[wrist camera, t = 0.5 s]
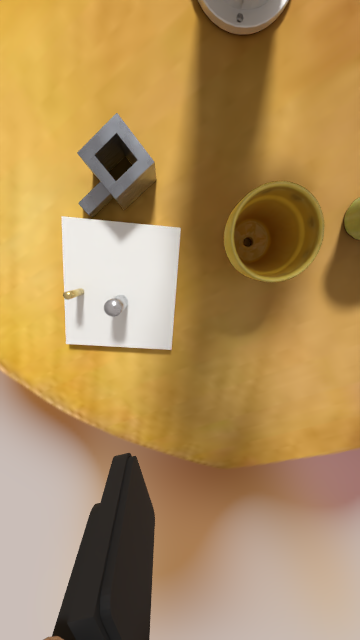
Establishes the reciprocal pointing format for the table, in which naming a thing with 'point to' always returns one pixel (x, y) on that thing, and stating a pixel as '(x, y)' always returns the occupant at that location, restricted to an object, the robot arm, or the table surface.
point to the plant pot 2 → (353, 219)
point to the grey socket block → (106, 155)
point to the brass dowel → (73, 293)
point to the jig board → (120, 282)
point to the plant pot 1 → (274, 232)
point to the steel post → (115, 305)
